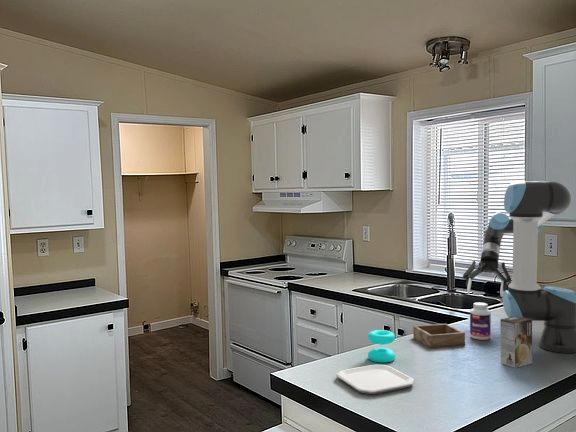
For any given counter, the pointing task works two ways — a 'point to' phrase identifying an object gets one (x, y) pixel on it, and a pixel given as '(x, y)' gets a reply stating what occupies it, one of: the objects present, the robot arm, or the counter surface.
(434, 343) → the crate
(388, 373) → the plate
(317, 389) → the counter surface
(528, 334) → the coffee box
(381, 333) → the donuts
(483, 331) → the pill bottle
